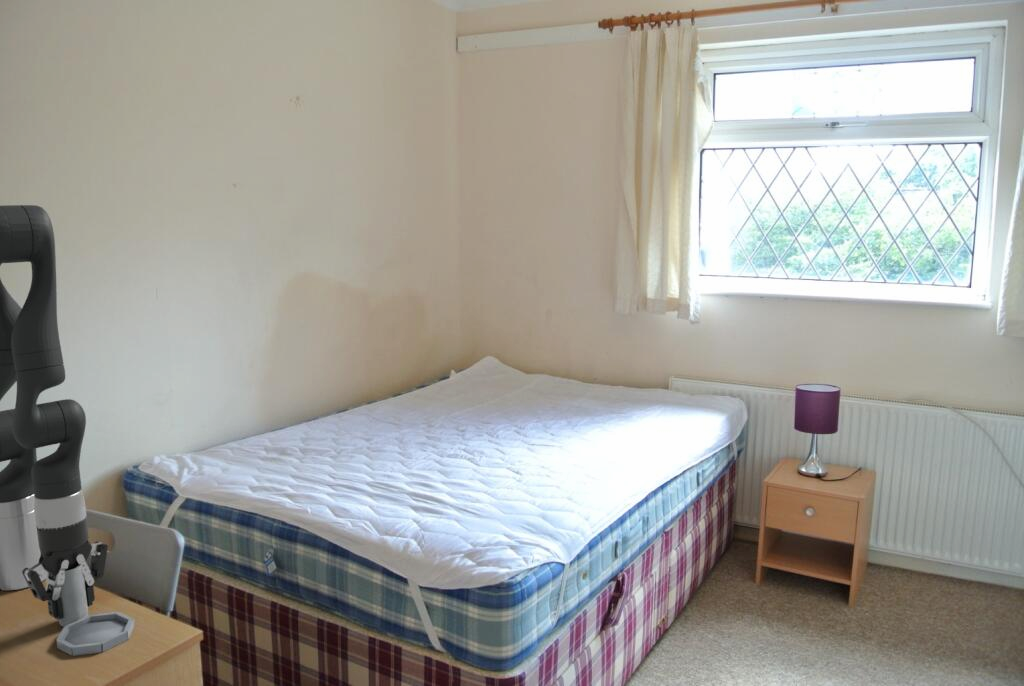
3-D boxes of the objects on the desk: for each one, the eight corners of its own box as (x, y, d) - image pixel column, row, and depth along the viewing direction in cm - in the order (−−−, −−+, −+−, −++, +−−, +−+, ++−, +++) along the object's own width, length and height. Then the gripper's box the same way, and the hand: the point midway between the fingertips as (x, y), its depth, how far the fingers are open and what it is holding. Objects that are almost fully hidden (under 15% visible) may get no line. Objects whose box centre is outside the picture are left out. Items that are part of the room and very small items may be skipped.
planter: (94, 614, 145) (87, 559, 144) (78, 628, 141) (71, 571, 139) (69, 613, 146) (63, 558, 144) (53, 627, 141) (46, 570, 140)
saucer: (46, 642, 136) (45, 634, 136) (108, 614, 145) (107, 607, 145) (83, 661, 131) (82, 653, 130) (145, 631, 140) (144, 623, 139)
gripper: (89, 500, 148) (99, 589, 151) (5, 527, 136) (18, 624, 139) (114, 508, 144) (124, 599, 147) (29, 537, 132) (42, 636, 135)
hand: (72, 611), depth 143 cm, fingers closed on planter, 4 cm apart
